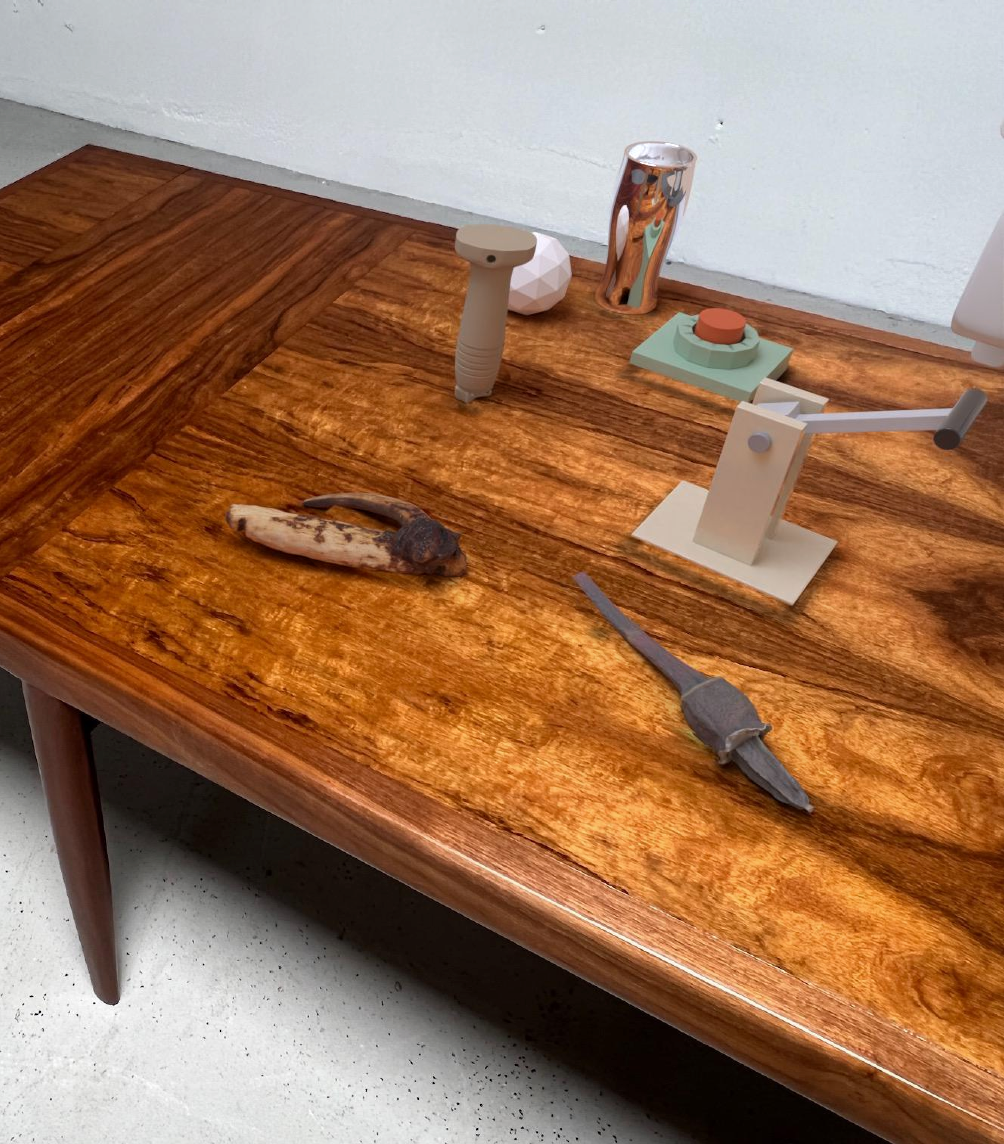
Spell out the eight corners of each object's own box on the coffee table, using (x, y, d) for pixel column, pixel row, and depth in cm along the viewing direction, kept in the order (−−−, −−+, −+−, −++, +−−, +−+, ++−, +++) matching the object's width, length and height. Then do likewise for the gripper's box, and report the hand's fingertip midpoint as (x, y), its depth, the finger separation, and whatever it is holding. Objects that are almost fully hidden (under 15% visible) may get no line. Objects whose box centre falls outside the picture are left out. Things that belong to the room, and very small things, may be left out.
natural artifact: (778, 838, 65) (763, 816, 62) (571, 586, 81) (551, 559, 78) (836, 801, 64) (823, 777, 62) (615, 554, 80) (597, 526, 77)
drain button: (747, 334, 101) (753, 317, 100) (730, 351, 99) (735, 333, 98) (705, 321, 103) (710, 303, 102) (686, 337, 101) (691, 319, 100)
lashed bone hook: (475, 534, 86) (249, 490, 89) (485, 483, 83) (251, 440, 86) (458, 609, 79) (214, 558, 82) (469, 557, 76) (215, 506, 79)
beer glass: (658, 321, 110) (698, 171, 101) (586, 311, 112) (619, 162, 102) (662, 291, 115) (700, 144, 106) (593, 281, 117) (624, 136, 107)
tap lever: (989, 415, 70) (986, 380, 69) (962, 457, 67) (958, 420, 66) (773, 423, 80) (768, 392, 79) (739, 460, 76) (734, 428, 75)
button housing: (786, 369, 103) (800, 330, 101) (744, 414, 98) (757, 374, 95) (673, 332, 109) (683, 294, 106) (626, 372, 103) (636, 333, 100)
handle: (505, 417, 97) (533, 254, 88) (432, 406, 99) (451, 244, 89) (511, 389, 101) (539, 229, 91) (440, 379, 102) (461, 220, 93)
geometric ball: (532, 342, 113) (551, 307, 105) (468, 297, 114) (481, 260, 106) (576, 287, 114) (597, 248, 106) (511, 243, 115) (528, 202, 108)
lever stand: (832, 553, 83) (898, 405, 75) (788, 616, 78) (852, 465, 70) (678, 491, 89) (723, 348, 81) (627, 545, 84) (669, 398, 76)
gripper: (1145, 187, 49) (1004, 451, 58) (1214, 78, 61) (1088, 311, 70) (988, 153, 52) (877, 408, 61) (1082, 55, 64) (978, 281, 73)
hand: (990, 355), depth 65 cm, fingers closed
